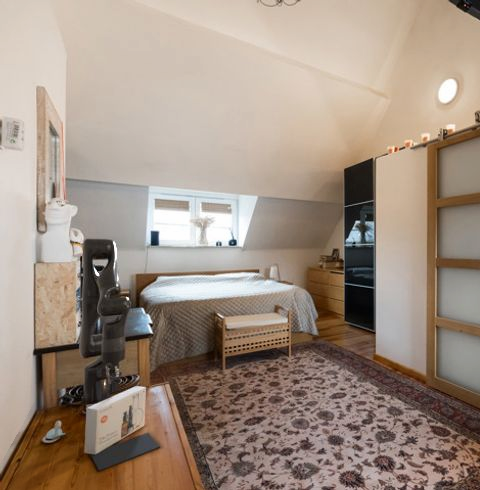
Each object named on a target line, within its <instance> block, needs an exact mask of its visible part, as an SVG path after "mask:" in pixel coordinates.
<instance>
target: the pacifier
mask: <svg viewBox="0 0 480 490" xmlns="http://www.w3.org/2000/svg"><path fill="white" fill-rule="evenodd" d="M61 427H62V422H61V420H57V421H56V422H55V424H54V427H53V428H51V429H50V430H49V431H47V433H46V435H45V436H44V437H43V438H42V439H41V440H42V442H43V443H45V444H51V443H55V442H56V441H58V440H60V439H61V437H62V436H64V435H66V432H63V429H62V428H61Z"/></svg>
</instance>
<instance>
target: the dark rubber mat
mask: <svg viewBox="0 0 480 490" xmlns="http://www.w3.org/2000/svg"><path fill="white" fill-rule="evenodd" d="M160 448H161V446H160V444H158V443H157V441H156V440H155V439H154V438H153V437H152V436H151V435H150V433H149V432H145V433H144V434H140V435H137V436H135V437H132V438H128V439H126V440H123V441H120V442H116V443H114V444H112V445H111V446H109V447H107V448H106V449H104V450H102V451H100V452H99V453H97V454H89V455H90V458H91V459H92V461H93V463H94V465H95V466H96V468H97V470H98V472H102V471H104V470H107V469H109V468H112V467H114V466H117V465H120V464H122V463H125V462H127V461H129V460H132V459H135V458H137V457H140V456H142V455H145V454H148V453H150V452H153V451H155V450H158V449H160Z"/></svg>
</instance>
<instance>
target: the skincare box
mask: <svg viewBox="0 0 480 490" xmlns="http://www.w3.org/2000/svg"><path fill="white" fill-rule="evenodd" d="M146 398H147V387H146V386H139V385H135V386H133V387H131V388H129V389H126V390H124V391H122V392H120V393H117V394H115V395H113V396H110V398H108V399H106V400H103V401H101V402H99V403H97V404H94V405H92V406H90V407H88V408H86V415H85V427H84V428H85V429H84V450H83V454H89V455H90V454H97V453H99V452H100V451H102V450H104V449H106V448H107V447H109V446H112V445H115V444H117V443H118V442H119V441H121V440H123V439H124V438H126V437H128V436H129V435H131V434H133V433H134V432H136V431H139V429H141V428H143V427H145V426H146V425H145V424H146V423H145V420H146V418H145V417H146V400H147V399H146Z"/></svg>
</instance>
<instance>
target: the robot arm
mask: <svg viewBox="0 0 480 490" xmlns="http://www.w3.org/2000/svg"><path fill="white" fill-rule="evenodd" d="M81 248H82V249H81V250H82V254H81V255H82V274H83V275H82V276H83V277H82V291H81V292H82V293H81V327H80V337H79V347H78V351H79V355H80V357H81V358H82V359H90V358H96V357H97V358H96V359H94V360H93V361H91V362H89V363H88V364H86V365H85V366H84V367H83V387H82V388H83V389H82V396H81V402H79V403H73V402H74V398H73V397H71V396H69V395H61V396H60V397H59V400H62V399H68V400H70V401H68V405H70V406H73V407H76V406H82V414H83V415H85V416H86V408H88V407H90V406H92V405H94V404H97V403H99V402H101V401H103V400H106V399H108V398H110V397H111V394H114V393H117V392H118V383H120V380H121V377H122V374H123V373H122V371H121V368H122V365H121V364H120V362H122V361H124V360H125V359H126V322H127V319H128V316H129V313H130V310H131V307H132V306H131V305H132V303H131V300H130V298H129V297H127V296H120V294H121V293H122V287H121V282H120V279H119V274H118V273H119V272H118V255H117V247H116V243H115V241H114V240H113V239H111V238H93V237H92V238H89V237H88V238H85V239H84V240H83V242H82V247H81ZM106 260H107V263H106V264H105V266H104V267H103V269H102V270H101V271H100V272H99V273H98V272H97V269H96V268H95V265H94V261H106ZM115 316H117V317H116V318H115V319H111V321H106V322H105V323H103V325H102V333H100V334H99V333H98V334H93V331H94V328H95V327H96V326H95V325H97V322H98V321H99V319H100V318H101V317H104V318H105V317H115Z"/></svg>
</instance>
